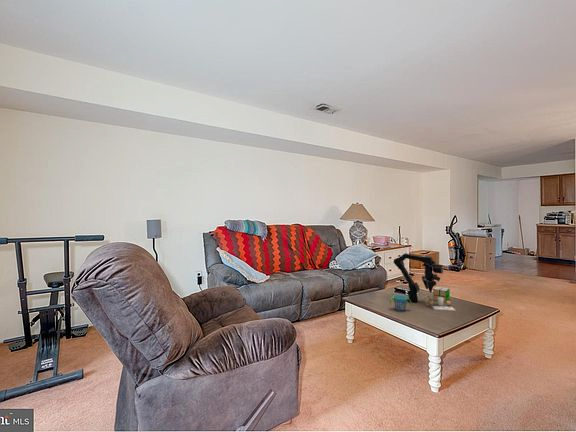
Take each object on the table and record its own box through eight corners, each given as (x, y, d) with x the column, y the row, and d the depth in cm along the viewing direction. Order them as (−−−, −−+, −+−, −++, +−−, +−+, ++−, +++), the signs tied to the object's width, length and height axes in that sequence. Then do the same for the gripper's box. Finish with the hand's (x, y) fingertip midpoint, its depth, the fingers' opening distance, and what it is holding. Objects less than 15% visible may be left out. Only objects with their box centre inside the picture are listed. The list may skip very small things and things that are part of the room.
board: (434, 310, 216) (434, 308, 216) (431, 306, 223) (431, 305, 223) (455, 311, 213) (455, 309, 213) (452, 307, 221) (452, 306, 221)
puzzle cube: (437, 297, 246) (437, 286, 246) (449, 300, 239) (449, 288, 239) (433, 300, 239) (433, 288, 239) (446, 303, 232) (446, 291, 232)
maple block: (426, 305, 227) (426, 298, 227) (424, 303, 232) (424, 296, 232) (433, 305, 226) (433, 298, 226) (431, 303, 231) (431, 296, 231)
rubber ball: (447, 305, 225) (447, 301, 225) (445, 304, 228) (445, 300, 228) (451, 306, 224) (451, 301, 224) (450, 304, 228) (450, 300, 228)
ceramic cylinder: (438, 305, 226) (438, 298, 226) (437, 304, 230) (437, 296, 229) (444, 305, 225) (444, 298, 225) (442, 304, 229) (442, 297, 229)
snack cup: (409, 308, 221) (409, 295, 221) (412, 312, 211) (412, 299, 211) (389, 306, 225) (389, 294, 225) (390, 311, 215) (390, 298, 215)
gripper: (443, 274, 218) (443, 294, 218) (435, 269, 236) (435, 287, 236) (428, 274, 220) (428, 293, 220) (421, 269, 238) (421, 287, 238)
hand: (428, 290), depth 229 cm, fingers open, 9 cm apart
